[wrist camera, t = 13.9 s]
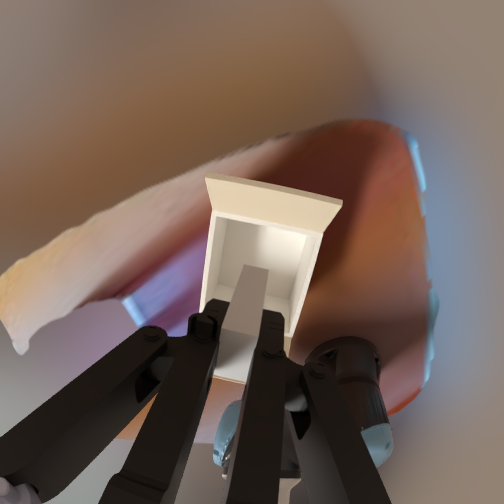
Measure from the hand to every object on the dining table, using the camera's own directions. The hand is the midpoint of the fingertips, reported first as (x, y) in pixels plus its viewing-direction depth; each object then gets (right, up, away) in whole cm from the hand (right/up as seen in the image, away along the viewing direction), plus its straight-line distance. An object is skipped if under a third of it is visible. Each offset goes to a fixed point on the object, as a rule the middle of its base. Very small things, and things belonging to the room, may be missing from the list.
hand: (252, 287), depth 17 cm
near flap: (+2, +7, +12) cm, 14 cm away
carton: (+2, +2, +27) cm, 27 cm away
